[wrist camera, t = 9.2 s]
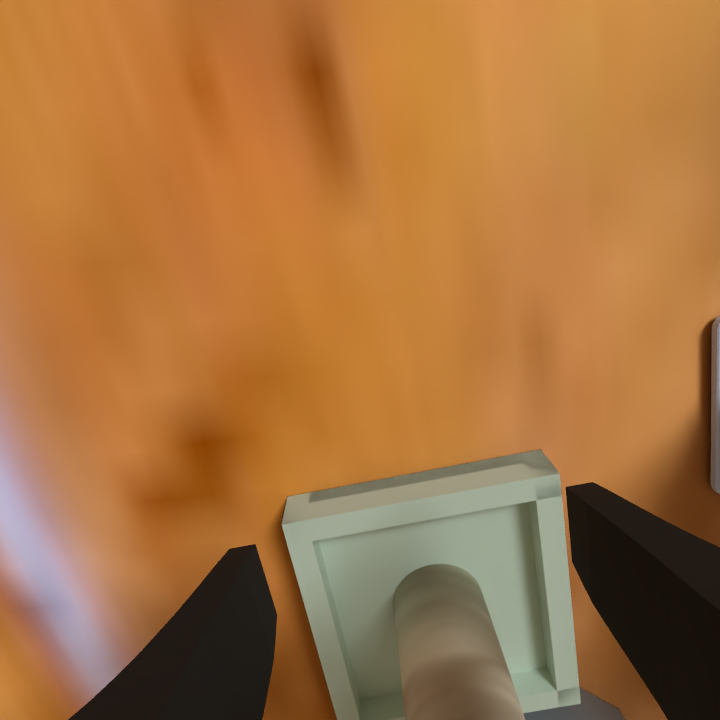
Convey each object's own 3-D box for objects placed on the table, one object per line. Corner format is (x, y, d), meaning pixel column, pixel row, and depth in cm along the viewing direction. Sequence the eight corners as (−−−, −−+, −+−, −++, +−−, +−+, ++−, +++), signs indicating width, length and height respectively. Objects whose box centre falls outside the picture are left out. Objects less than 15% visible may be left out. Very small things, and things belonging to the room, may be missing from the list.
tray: (540, 449, 21) (559, 473, 19) (562, 665, 25) (580, 703, 23) (287, 496, 22) (281, 524, 20) (344, 702, 25) (343, 743, 23)
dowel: (493, 572, 22) (585, 809, 13) (468, 642, 23) (538, 902, 14) (405, 557, 22) (440, 790, 13) (384, 629, 23) (404, 886, 14)
